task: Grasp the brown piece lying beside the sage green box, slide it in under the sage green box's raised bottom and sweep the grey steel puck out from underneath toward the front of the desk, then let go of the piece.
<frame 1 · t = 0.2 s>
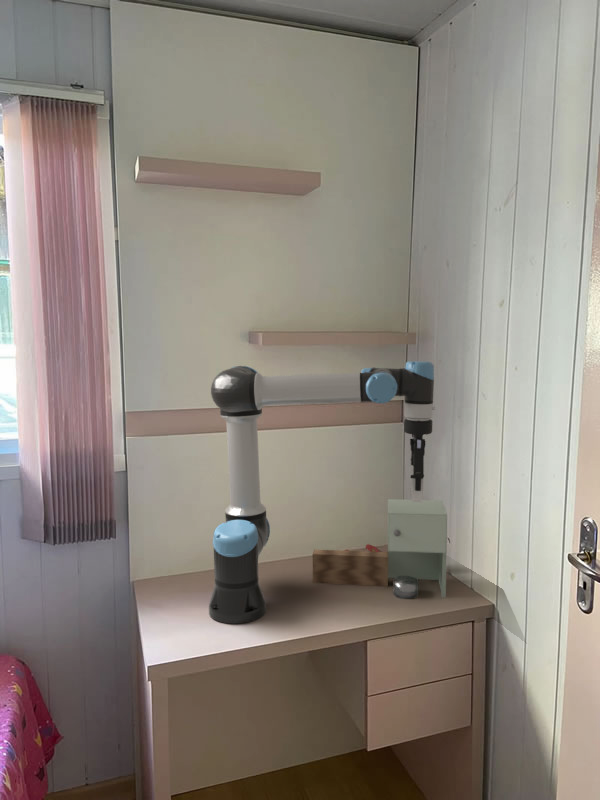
hand: (416, 495, 177), 29 cm above the table, fingers open, 13 cm apart
sage green box: (415, 587, 188), on the table
pliers: (369, 562, 209), on the table
token: (405, 594, 183), on the table
brown piece: (350, 582, 192), on the table
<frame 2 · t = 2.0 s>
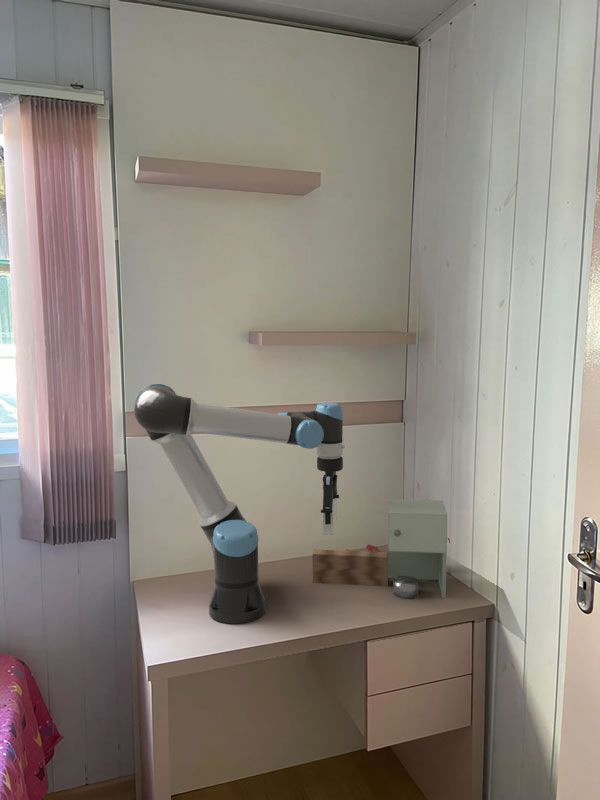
hand: (330, 527, 191), 17 cm above the table, fingers open, 13 cm apart
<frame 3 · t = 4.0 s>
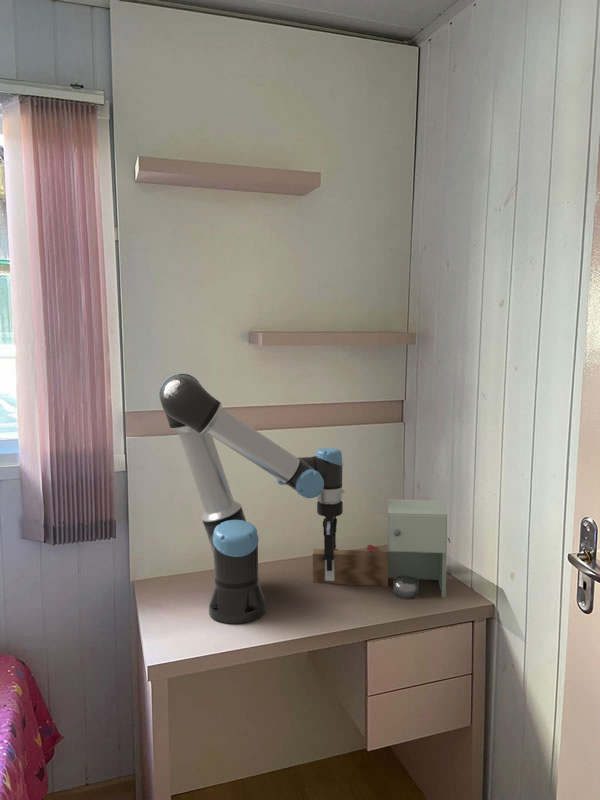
hand: (330, 576, 193), 1 cm above the table, fingers closed on brown piece, 4 cm apart
brown piece: (350, 581, 192), on the table, touching gripper
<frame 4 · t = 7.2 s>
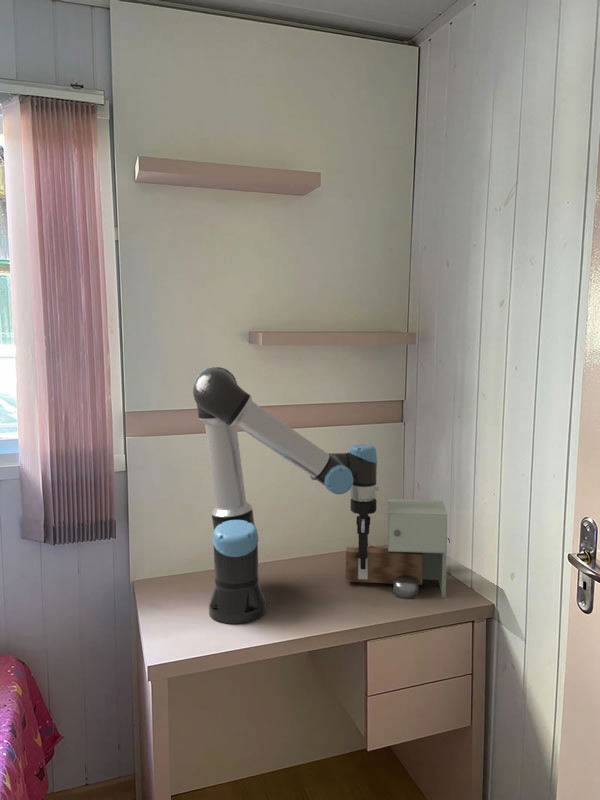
hand: (363, 575, 190), 3 cm above the table, fingers closed on brown piece, 4 cm apart
brown piece: (383, 580, 190), point 1 cm above the table, touching gripper
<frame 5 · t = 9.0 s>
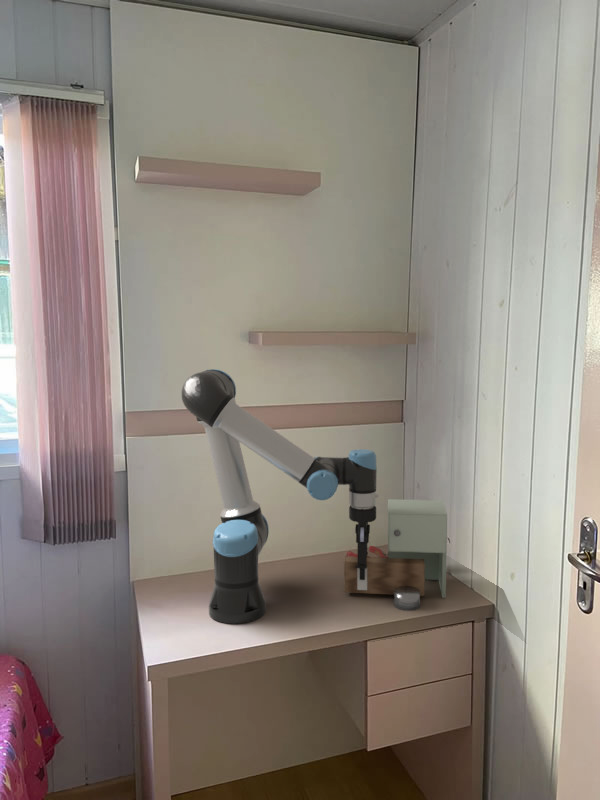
hand: (362, 585, 183), 3 cm above the table, fingers closed on brown piece, 4 cm apart
token: (406, 605, 176), on the table
brown piece: (384, 591, 182), point 1 cm above the table, touching gripper
when the fingers open (3 cm above the table, at t = 10.3 s): brown piece drops 2 cm, on the table.
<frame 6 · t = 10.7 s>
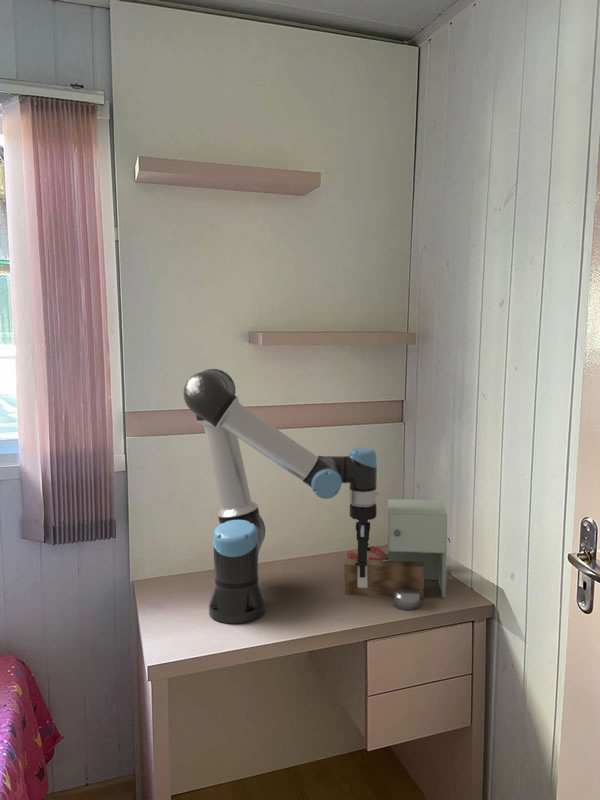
hand: (363, 580, 184), 4 cm above the table, fingers open, 9 cm apart
brown piece: (383, 593, 184), on the table
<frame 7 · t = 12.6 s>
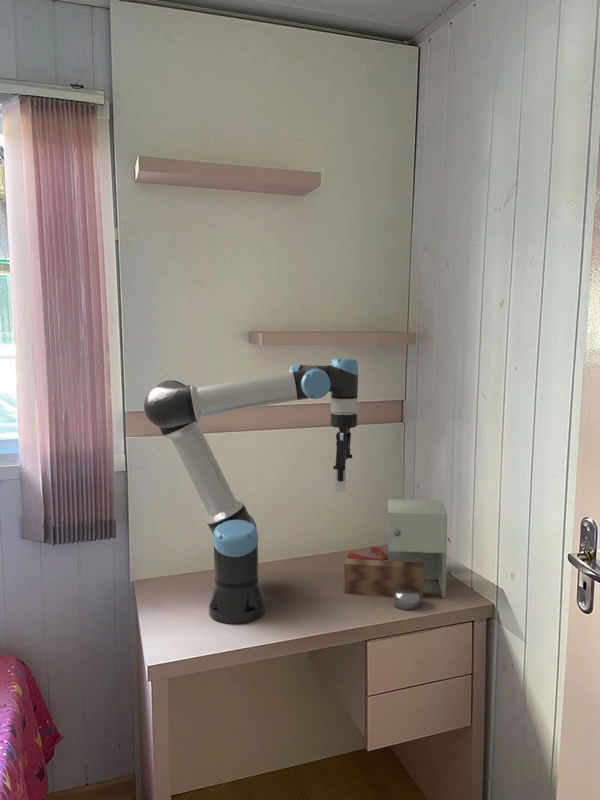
hand: (342, 486, 186), 30 cm above the table, fingers open, 13 cm apart
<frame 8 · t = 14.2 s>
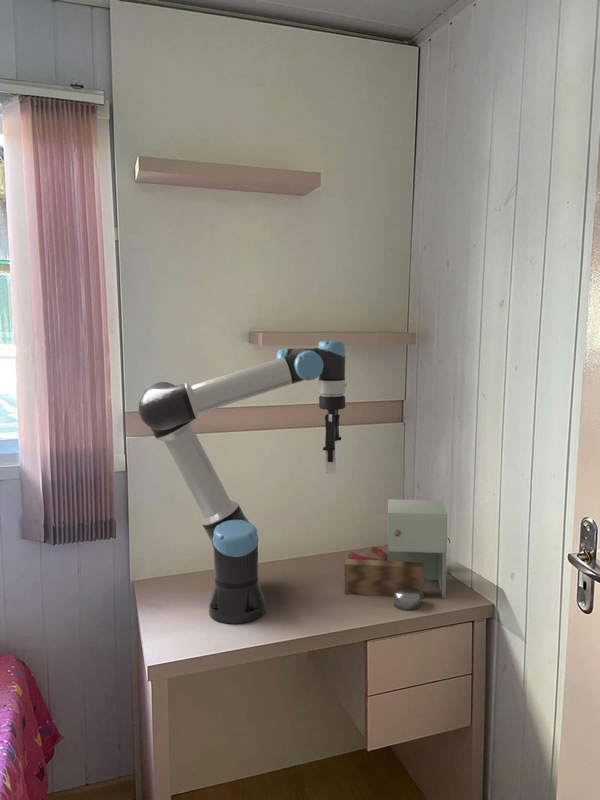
hand: (332, 467, 188), 35 cm above the table, fingers open, 13 cm apart
at the end: token inside the target area (2.5 cm from its centre), on the table; the gripper is holding nothing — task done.
